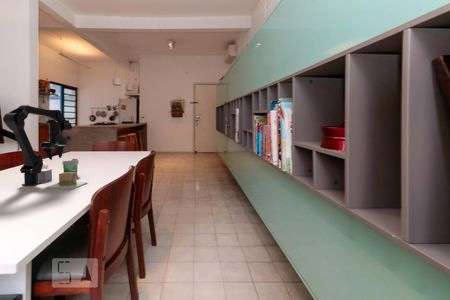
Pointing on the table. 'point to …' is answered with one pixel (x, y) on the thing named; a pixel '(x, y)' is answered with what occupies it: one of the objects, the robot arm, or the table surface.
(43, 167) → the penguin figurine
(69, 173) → the tan cube
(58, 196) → the table surface
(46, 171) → the medium grey block
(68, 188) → the sage mat
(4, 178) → the table surface
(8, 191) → the table surface
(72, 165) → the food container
